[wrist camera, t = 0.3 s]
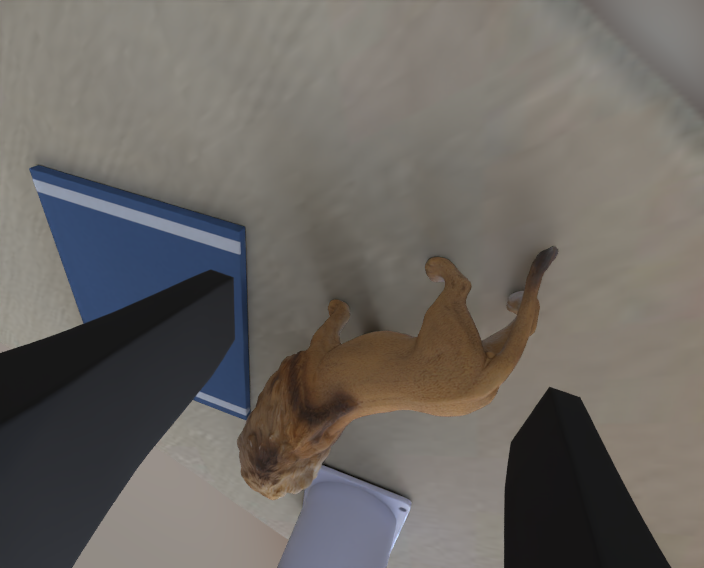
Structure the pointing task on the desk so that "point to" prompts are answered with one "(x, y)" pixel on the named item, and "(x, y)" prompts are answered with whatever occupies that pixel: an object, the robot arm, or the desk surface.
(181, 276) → the towel
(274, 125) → the desk surface
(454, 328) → the lion figurine
